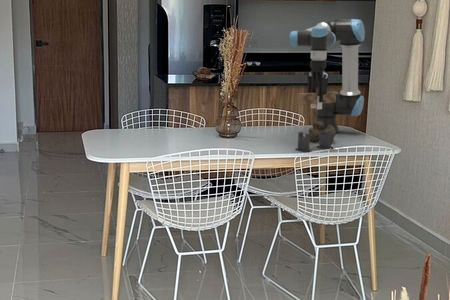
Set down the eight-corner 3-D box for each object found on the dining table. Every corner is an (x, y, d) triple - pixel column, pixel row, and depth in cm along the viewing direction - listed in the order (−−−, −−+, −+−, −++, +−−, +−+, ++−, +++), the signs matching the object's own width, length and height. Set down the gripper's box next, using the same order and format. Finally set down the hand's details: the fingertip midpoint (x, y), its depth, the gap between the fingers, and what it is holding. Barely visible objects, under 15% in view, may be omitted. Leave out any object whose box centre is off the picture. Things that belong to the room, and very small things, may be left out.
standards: (323, 146, 299) (324, 129, 297) (333, 149, 293) (334, 131, 291) (295, 150, 289) (296, 132, 287) (304, 152, 283) (305, 134, 281)
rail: (330, 101, 294) (331, 91, 293) (335, 102, 291) (336, 92, 290) (296, 104, 282) (296, 93, 281) (301, 104, 279) (301, 94, 278)
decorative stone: (321, 134, 302) (304, 119, 312) (316, 152, 307) (299, 137, 318) (345, 130, 310) (327, 116, 320) (339, 148, 315) (322, 133, 326)
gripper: (301, 59, 288) (299, 107, 292) (324, 60, 274) (322, 111, 278) (312, 58, 292) (310, 106, 296) (336, 60, 278) (334, 110, 282)
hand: (316, 108), depth 287 cm, fingers closed on rail, 3 cm apart
